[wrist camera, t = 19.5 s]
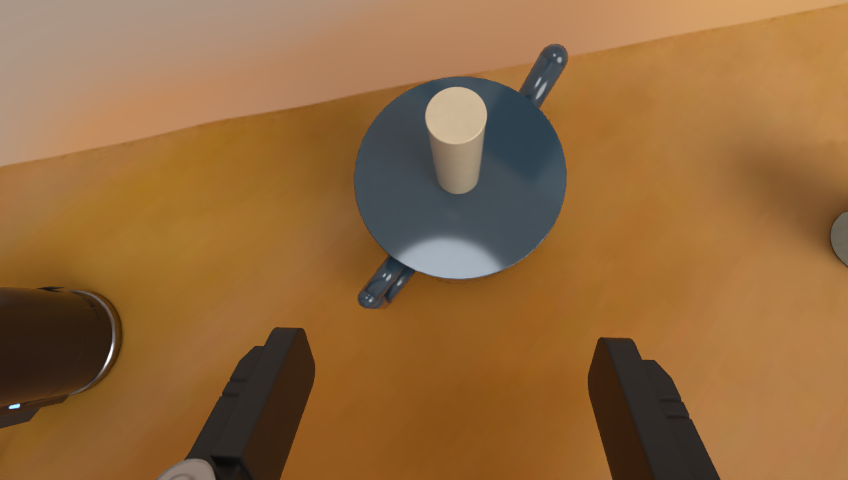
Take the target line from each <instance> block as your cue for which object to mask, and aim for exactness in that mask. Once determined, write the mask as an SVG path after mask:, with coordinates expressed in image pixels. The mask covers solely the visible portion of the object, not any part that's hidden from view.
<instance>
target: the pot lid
mask: <svg viewBox="0 0 848 480" xmlns="http://www.w3.org/2000/svg"><path fill="white" fill-rule="evenodd" d="M354 189H355V195H356V201H357V205H358V208H359V211H360V215H361V217H362V219H363V221H364V223H365V225H366V227H367V229H368V230H369V232H370V233H371V235H372V237H373V238H374V239H375V240H376V242H377V243H378V244H379V245H380V246H381V247H382V249H384V250H385V251H386V252H387V253H388V254H389V255H390V256H391V257H393V258H394V259H395V260H397V261H398V262H400V263H401V264H403V265H404V266H406V267H408V268H410V269H412V270H414V271H416V272H419V273H422V274H425V275H428V276H431V277H436V278H441V279H448V280H469V279H477V278H482V277H487V276H490V275H493V274H496V273H499V272H501V271H503V270H505V269H507V268H510V267H512V266H514V265H515V264H517V263H518V262H520V261H521V260H523V259H524V258H525V257H527V256H528V255H529V254H530V253H531V252H532V251H533V250H535V249H536V248H537V247H538V246H539V244H540V243H541V242H542V241H543V240H544V239H545V237H546V236H547V235H548V233H549V232H550V230H551V229H552V227H553V225H554V224H555V222H556V219H557V217H558V215H559V213H560V210H561V207H562V204H563V201H564V196H565V190H566V163H565V157H564V153H563V149H562V146H561V143H560V141H559V138H558V136H557V134H556V132H555V130H554V128H553V127H552V125H551V123H550V122H549V120H548V119H547V118H546V116H545V115H544V114H543V113H542V111H541V110H540V109H539V108H538V107H537V106H535V105H534V104H533V103H532V102H531V101H530V100H529V99H527V98H526V97H525V96H523V95H522V94H520V93H519V92H517V91H515V90H513V89H511V88H510V87H507V86H505V85H502V84H500V83H498V82H494V81H490V80H487V79H482V78H475V77H449V78H442V79H438V80H433V81H430V82H427V83H424V84H421V85H418V86H416V87H414V88H412V89H410V90H408V91H406V92H405V93H403V94H402V95H400V96H399V97H397V98H396V99H395V100H393V101H392V102H391V103H390V104H389V105H388V106H386V107H385V108H384V109H383V111H382V112H381V113H380V114H379V115H378V116H377V117H376V119H375V120H374V121H373V123H372V124H371V126H370V127H369V129H368V131H367V132H366V134H365V136H364V138H363V140H362V143H361V146H360V148H359V151H358V155H357V159H356V163H355V172H354Z"/></svg>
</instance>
